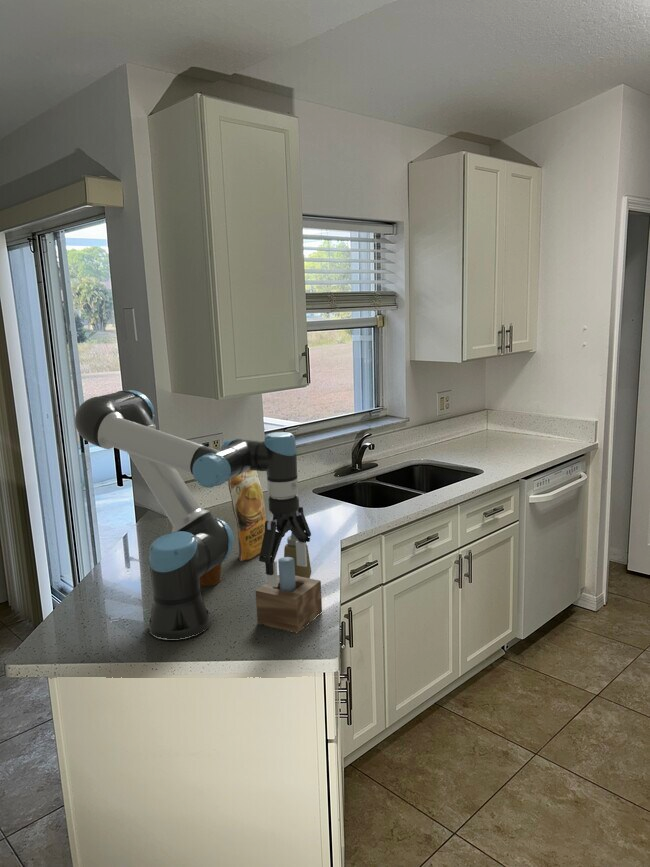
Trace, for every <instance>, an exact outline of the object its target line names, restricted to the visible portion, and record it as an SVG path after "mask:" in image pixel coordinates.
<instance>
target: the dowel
mask: <svg viewBox="0 0 650 867" xmlns="http://www.w3.org/2000/svg"><path fill="white" fill-rule="evenodd" d="M277 565H278V575H279V580H280V590H283V591H288V592H293V591H295V590H296V584H295V566H294V558H292V557H284V556H283V557H281V558H279V559H278V560H277Z"/></svg>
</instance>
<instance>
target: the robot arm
mask: <svg viewBox="0 0 650 867" xmlns="http://www.w3.org/2000/svg"><path fill="white" fill-rule="evenodd" d="M154 413H155V408H154V405H153V404H152V402H151V400H150V399H149V398H148V397H147V395H145V394H143V393H142V392H140V391H138V390H133V389H129V390H126V389H125V390H119V391H115V392H112V393H107V394H103V395H99V396H94V397H91V398H88V399H87V400H85V401H83V403H81V404H80V406H79V407H78V409H77V411H76V413H75V418H74V424H75V428H76V431H77V432H78V434H79V436H81V438H82V439H83V440H85V441H86V442H87V443H89V444H91V445H94V446H96V447H99V448H102V449H105V450H111V449H113V448H115V449H117V450H120V451H123V452H125V453H126V454H127V455H128V456H129V457H130V459H131V461H132V462H133V464H134V465H135V467H136V469H137V471H138V472H139V473H140V475H141V477H142V479H143V480H144V482H145V483H146V485H147V486H148V488H149V490H150V491H151V493H152V494H153V496H154V498H155V499H156V500H157V502H158V504H159V506H160V507H161V509H162V510H163V512H164V514H165V515H166V517H167V519H168V520H169V522H170V523H171V525H172V530H171V532H170V533H169V534H168V533H164V534H163V535H161V536H159V537H157V538H156V539H154V540H153V541H152V543H151V544H150V547H149V550H148V556H149V557H148V564H149V569H150V570H149V571H150V578H151V587H152V596H153V597H152V599H153V604H152V608H151V612H150V618H149V621H148V628H149V630H150V632H151V633H152V634H153V635H155V636H157V637H161V638H167V639H180V638H185V637H189V636H192V635H196V634H198V633H200V632H202V631H203V630H205V629H206V628H207V627H208V626H209V627H210V625H211V617H210V612H209V610H208V609H207V607H206V603H205V601H204V599H203V597H202V595H201V593H202V592H201V585H200V580H199V578H200V576H202V575H203V574H205V573H206V572H208V571H209V570H211V569H212V568H214V567H215V566H217V565H219V564H220V563H221V564H222V563H223V562H224V561H225V560H226V559H227V558H228V557H229V556H230V554H231V553H232V551H233V546H234V541H235V540H234V534H233V531H232V529H231V528H230V526H229V525H228V523H227V522H225V520H222V519H220V518H218V517H217V518H215V517H213V515H212V513H211V512H210V510H208V509H203V508H202V507H200V505H199V504H198V502H197V500H196V499H195V497H194V496H193V494H192V492H191V490H190V489H189V487H188V485H187V484H186V483H185V481H184V479H183V478H182V476H181V475H180V472H183V473H186V474H188V475H191V476H193V478H194V480H195V481H196V482H197V483H198V484H199V485H200V486H201V487H204V488H206V489H207V488H209V489H210V488H214V487H218V486H221V485H223V484H225V483H226V482H228V480H230V479H232V478H234V477H235V476H238V475H240V474H242V473H244V472H246V471H248V470H255V471H257V472H266V482H267V483H266V484H267V495H268V511H269V512H270V513H272V515H273V516H272V520H266V521H265V532H264V537H263V542H262V547H261V552H260V554H259V557H258V561H259V562H261V563H265V574H266V583H267V585H268V586H272V587H278V575H279V574H278V560H276V557H277V555H278V551H279V548H280V545H281V542H282V540H283V538H284V537H285V536H286V534H287V533H288V532H290V531H291V533H293V534H294V535H295V537H296V538H297V539H298V540H299V541H296V557H297V565H298V566H303V567H306V566H307V552H306V551H307V548H306V544H307V543H309V542H310V541H311V536H312V532H311V530H310V527H309V524H308V522H307V519H306V516H305V513H304V508H303V507H302V506H300V497H299V495H298V493H299V484H298V482H299V480H298V465H297V464H298V463H297V462H298V461H297V454H298V449H297V445H296V444H297V443H296V437H295V435H294V434H293V433H291V432H286V431H278V432H276V431H275V432H270V433H267V434H266V435H265V436H264V440H253V439H242V438H236V439H235V438H234V439H233V438H232V439H227V440H225V441H224V442H223V444H222V445H221V446H220V448H218V449H215V448H212V447H209V446H206V445H203V444H200V443H197V442H194V441H192V440H188V439H185V438H183V437H179V436H176V435H173V434H171V433H167V432H164V431H162V430H159V429H156V428H157V425H156V424H155V422H154V420H155V414H154ZM179 471H180V472H179ZM209 624H210V625H209ZM209 627H208V628H209ZM208 628H207V629H208ZM205 631H206V630H205ZM150 632H149V633H150Z"/></svg>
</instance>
